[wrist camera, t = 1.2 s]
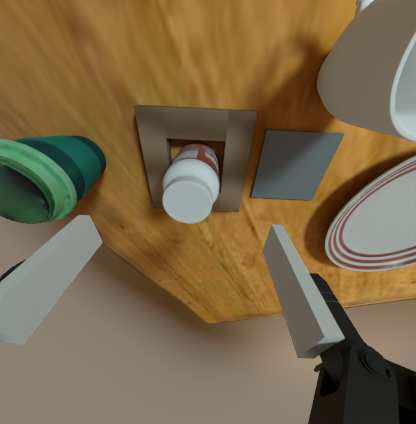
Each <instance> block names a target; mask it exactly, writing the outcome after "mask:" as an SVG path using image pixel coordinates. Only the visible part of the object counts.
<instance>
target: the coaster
mask: <svg viewBox="0 0 416 424" xmlns="http://www.w3.org/2000/svg"><path fill="white" fill-rule="evenodd" d="M343 136H344V134H343V133H324V132H304V131H284V130H266V132H265V136H264V141H263V145H262V149H261V154H260V158H259V163H258V167H257V171H256V176H255V180H254V184H253V189H252V193H251V197H256V198H276V199H297V200H312V198H313V196H314V194H315V192H316V190H317V188H318V186H319V184H320V182H321V180H322V178H323V176H324V174H325V172H326V170H327V168H328V166H329V164H330V162H331V160H332V158H333V156H334V154H335V152H336V150H337V148H338V146H339V144H340V142H341V140H342V138H343Z"/></svg>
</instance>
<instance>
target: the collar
mask: <svg viewBox="0 0 416 424" xmlns="http://www.w3.org/2000/svg"><path fill="white" fill-rule="evenodd" d="M134 110H135V115H136V120H137V126H138V131H139V136H140V141H141V146H142V151H143V156H144V161H145V166H146V172H147V177H148V182H149V187H150V192H151V197H152V202H153V207H154V208H164V206H163V202H162V198H163V194H164V191H163V178H164V175H165V173H166V171H167V170H168V168H169V167H170V165H171V164H172V158H171V147H170V139H189V140H209V141H225V142H224V153H223V163H222V174H221V184H220V188H219V194H218V197H217V199H216V201H215V202H214V203H213V205H212V209H211V211H226V212H239V207H240V202H241V197H242V192H243V186H244V181H245V176H246V171H247V165H248V160H249V155H250V150H251V145H252V139H253V134H254V129H255V124H256V118H257V113H258V112H256V111H250V110H230V109H210V108H191V107H171V106H151V105H135V106H134Z"/></svg>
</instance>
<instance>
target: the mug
mask: <svg viewBox="0 0 416 424" xmlns="http://www.w3.org/2000/svg"><path fill="white" fill-rule="evenodd" d="M356 5H357V8H356V12H355V17H354V19H353V20H352V21H351V23H350V24H349V25H348V26H347V27H346V29H345V30H344V31H343V32H342V34H341V35H340V37H339V38H338V40H337V41H336V43H335V44H334V46H333V48H332V49H331V51H330V53H329V54H328V56H327V57H326V59H325V61H324V62H323V64H322V66H321V68H320V71H319V74H318V78H317V91H318V94H319V96H320V98H321V100H322V102H323V104H324V106H325V108H326V109H327V111H328V112H329V113H330V114H331V115H332V116H334V117H335V118H337V119H338V120H340V121H342V122H345V123H347V124H350V125H354V126H357V127H360V128H364V129H368V130H371V131H375V132H379V133H383V134H387V135H391V136H394V137H398V138H402V139H406V140H409V141H412V142H416V0H357V2H356Z"/></svg>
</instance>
